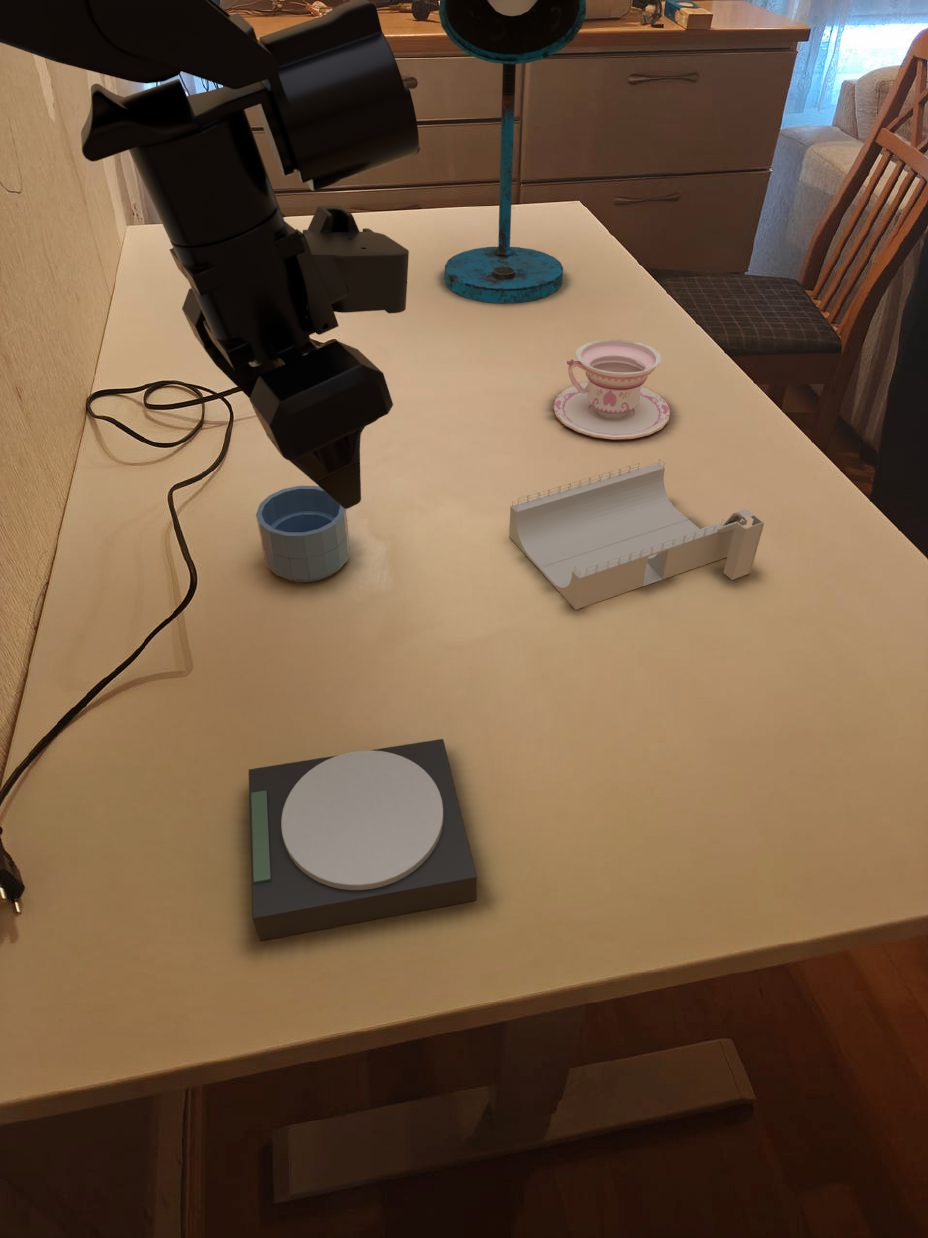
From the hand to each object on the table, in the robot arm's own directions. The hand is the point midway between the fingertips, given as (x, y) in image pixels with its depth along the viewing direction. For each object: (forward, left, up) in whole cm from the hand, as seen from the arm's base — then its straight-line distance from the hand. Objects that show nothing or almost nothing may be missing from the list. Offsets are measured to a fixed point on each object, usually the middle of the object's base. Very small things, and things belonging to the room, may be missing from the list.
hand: (325, 469), depth 54 cm
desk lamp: (-15, +69, -15) cm, 73 cm away
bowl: (-8, +7, -15) cm, 18 cm away
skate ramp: (+16, +18, -15) cm, 29 cm away
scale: (+9, -15, -15) cm, 23 cm away
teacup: (+8, +41, -15) cm, 45 cm away
